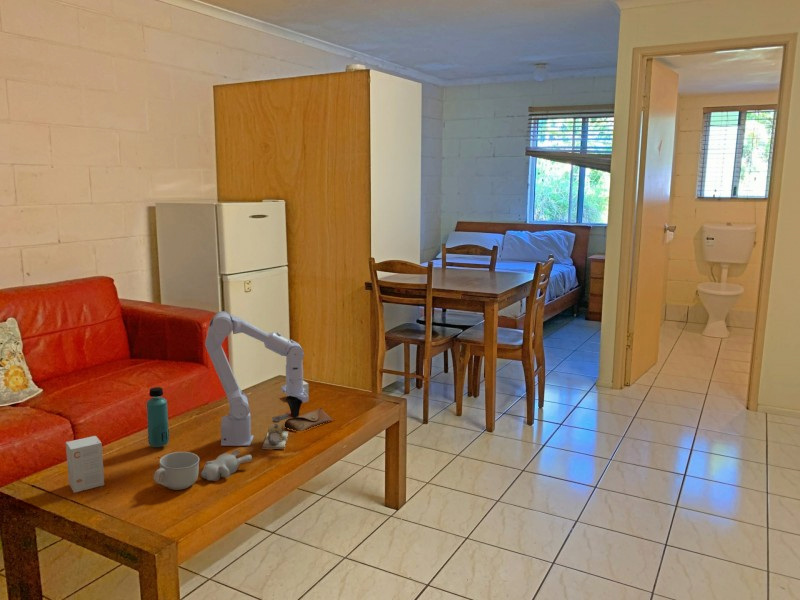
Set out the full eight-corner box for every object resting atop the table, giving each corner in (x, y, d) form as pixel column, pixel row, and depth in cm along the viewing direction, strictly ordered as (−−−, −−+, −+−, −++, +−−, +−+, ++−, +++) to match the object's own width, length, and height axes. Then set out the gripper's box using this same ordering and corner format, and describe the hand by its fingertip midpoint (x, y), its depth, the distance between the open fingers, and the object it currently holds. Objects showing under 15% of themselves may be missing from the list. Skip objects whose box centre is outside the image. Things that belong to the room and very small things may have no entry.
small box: (98, 477, 185) (96, 435, 183) (104, 485, 180) (102, 442, 178) (68, 484, 180) (65, 441, 178) (73, 493, 175) (70, 449, 173)
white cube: (302, 393, 262) (302, 379, 261) (308, 398, 257) (308, 383, 256) (288, 396, 258) (288, 381, 257) (294, 400, 254) (295, 386, 253)
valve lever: (275, 424, 210) (275, 418, 210) (270, 422, 212) (270, 417, 212) (298, 416, 218) (298, 411, 218) (294, 414, 220) (294, 409, 219)
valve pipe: (280, 446, 208) (280, 431, 207) (266, 446, 208) (266, 431, 207) (284, 433, 219) (284, 418, 218) (271, 433, 219) (271, 418, 218)
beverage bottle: (162, 452, 203) (160, 392, 199) (143, 450, 204) (140, 390, 200) (173, 444, 209) (171, 386, 205) (155, 442, 210) (152, 384, 206)
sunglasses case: (300, 434, 220) (293, 416, 221) (288, 439, 224) (282, 421, 225) (336, 420, 234) (330, 403, 235) (324, 425, 238) (318, 408, 239)
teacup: (186, 472, 189) (185, 447, 188) (207, 484, 183) (207, 458, 181) (142, 489, 179) (141, 462, 177) (163, 502, 172) (162, 474, 170)
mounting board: (284, 449, 207) (284, 446, 207) (262, 449, 207) (262, 446, 207) (288, 434, 220) (288, 431, 220) (268, 433, 220) (268, 431, 219)
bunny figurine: (193, 464, 186) (233, 442, 198) (195, 480, 187) (235, 457, 199) (215, 473, 181) (254, 450, 192) (217, 489, 182) (256, 465, 194)
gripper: (316, 381, 211) (316, 420, 213) (293, 371, 222) (294, 408, 224) (297, 385, 206) (298, 425, 209) (275, 374, 217) (276, 412, 220)
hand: (295, 416), depth 216 cm, fingers closed, pressing on valve lever
